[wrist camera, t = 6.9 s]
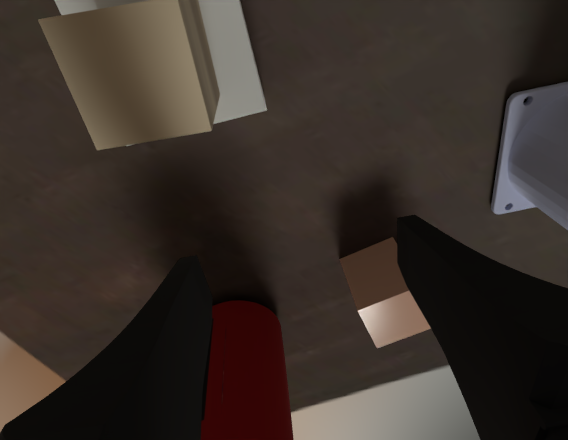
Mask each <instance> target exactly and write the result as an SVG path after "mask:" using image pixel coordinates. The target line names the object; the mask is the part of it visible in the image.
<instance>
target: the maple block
mask: <svg viewBox="0 0 568 440" xmlns="http://www.w3.org/2000/svg"><path fill="white" fill-rule="evenodd" d="M38 21H39V23H40V25H41V28H42V30H43V32H44V34H45V36H46V39H47V41H48V43H49V45H50V47H51V50H52V52H53V54H54V56H55V58H56V61H57V63H58V65H59V67H60V70H61V72H62V74H63V76H64V78H65V81H66V83H67V85H68V87H69V89H70V92H71V94H72V96H73V98H74V100H75V103H76V105H77V107H78V109H79V111H80V114H81V116H82V118H83V120H84V123H85V125H86V127H87V129H88V131H89V134H90V136H91V138H92V140H93V142H94V145H95V147H96V149H97V150H102V149H108V148H114V147H120V146H125V145H131V144H137V143H143V142H149V141H155V140H161V139H167V138H172V137H178V136H184V135H190V134H196V133H202V132H208V131H212V127H213V123H214V119H215V114H216V110H217V106H218V101H219V97H220V92H219V87H218V83H217V79H216V75H215V70H214V66H213V62H212V57H211V53H210V49H209V45H208V40H207V36H206V32H205V28H204V23H203V19H202V15H201V10H200V6H199V2H198V0H148V1H143V2H137V3H131V4H125V5H119V6H113V7H108V8H102V9H96V10H90V11H84V12H78V13H73V14H67V15H61V16H55V17H49V18H43V19H38Z"/></svg>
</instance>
